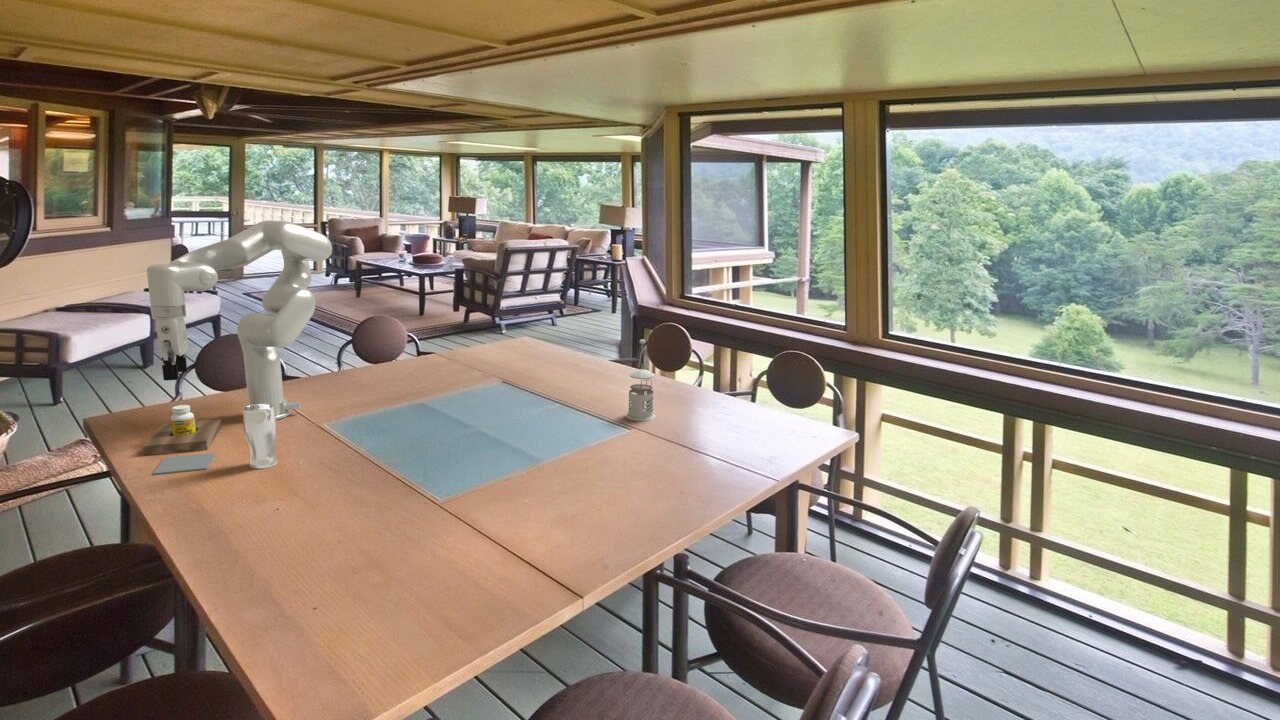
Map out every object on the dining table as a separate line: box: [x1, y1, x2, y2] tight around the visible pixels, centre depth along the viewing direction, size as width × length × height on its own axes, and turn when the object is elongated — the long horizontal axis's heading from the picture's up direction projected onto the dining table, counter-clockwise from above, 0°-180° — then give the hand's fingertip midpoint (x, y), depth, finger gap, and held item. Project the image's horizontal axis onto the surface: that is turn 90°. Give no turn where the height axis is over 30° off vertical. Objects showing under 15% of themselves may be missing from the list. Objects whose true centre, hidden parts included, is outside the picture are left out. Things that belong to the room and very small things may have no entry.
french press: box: [625, 339, 657, 422], centre depth 219 cm, size 10×12×25 cm
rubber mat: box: [152, 452, 216, 476], centre depth 172 cm, size 11×11×1 cm
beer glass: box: [242, 403, 278, 470], centre depth 172 cm, size 7×7×15 cm
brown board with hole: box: [143, 418, 222, 456], centre depth 189 cm, size 14×20×2 cm
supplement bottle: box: [170, 404, 196, 436], centre depth 188 cm, size 5×5×10 cm
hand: (175, 375), depth 185 cm, fingers open, 9 cm apart
